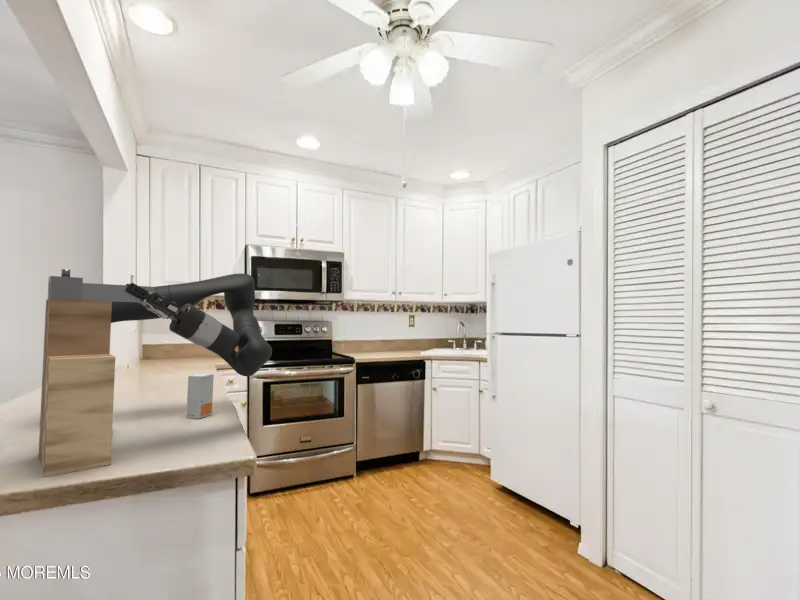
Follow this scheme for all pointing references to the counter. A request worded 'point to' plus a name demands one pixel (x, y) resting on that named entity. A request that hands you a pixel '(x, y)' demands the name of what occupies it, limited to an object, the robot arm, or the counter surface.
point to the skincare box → (199, 395)
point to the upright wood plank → (76, 386)
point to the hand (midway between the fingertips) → (126, 287)
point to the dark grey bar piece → (88, 290)
